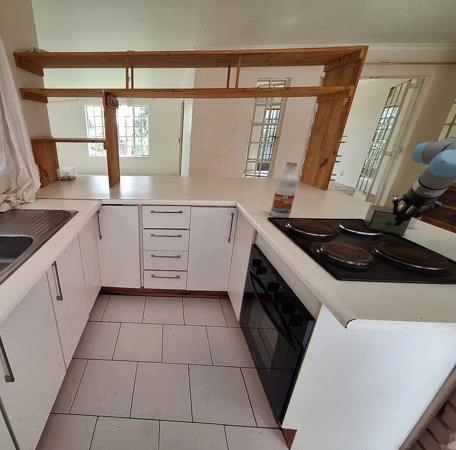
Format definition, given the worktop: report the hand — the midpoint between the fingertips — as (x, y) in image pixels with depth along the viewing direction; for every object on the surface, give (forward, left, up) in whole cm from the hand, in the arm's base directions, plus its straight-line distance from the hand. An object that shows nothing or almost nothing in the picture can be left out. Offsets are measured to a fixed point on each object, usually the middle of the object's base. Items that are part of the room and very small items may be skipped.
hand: (396, 223), depth 98 cm
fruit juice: (+44, -5, -8) cm, 45 cm away
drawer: (0, -16, -7) cm, 17 cm away
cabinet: (0, -18, -7) cm, 20 cm away
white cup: (-10, -31, -8) cm, 34 cm away
